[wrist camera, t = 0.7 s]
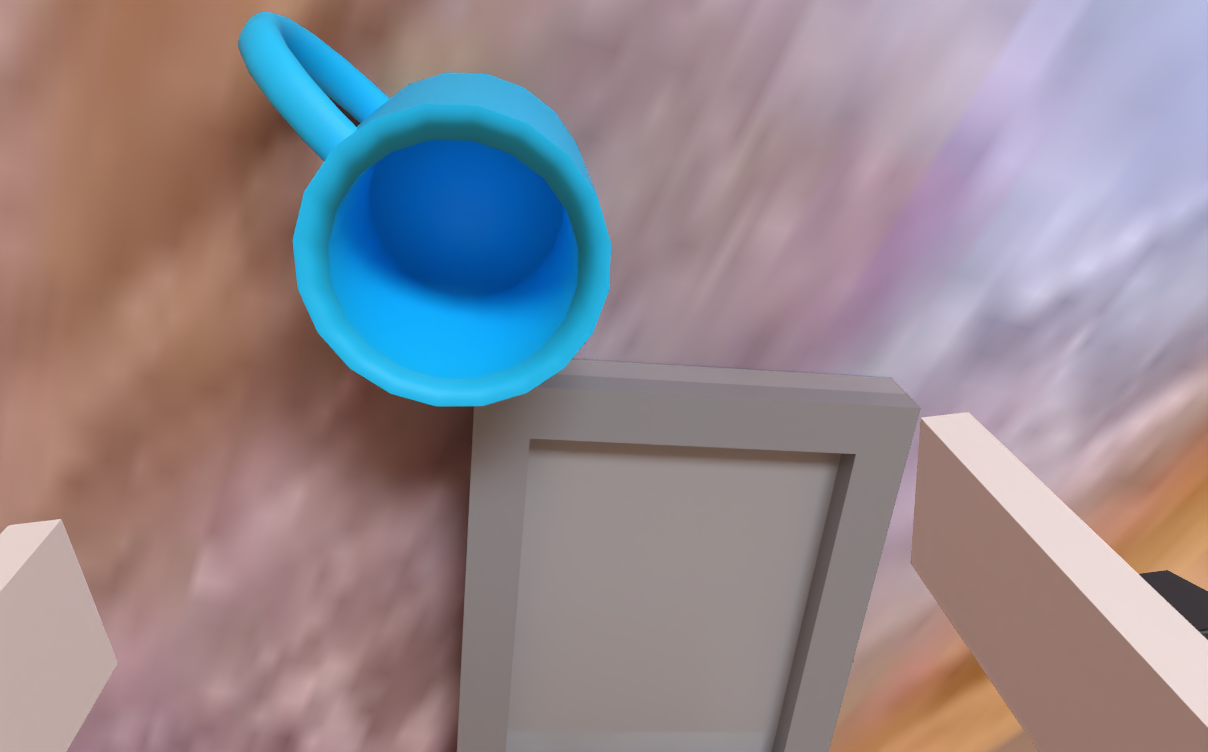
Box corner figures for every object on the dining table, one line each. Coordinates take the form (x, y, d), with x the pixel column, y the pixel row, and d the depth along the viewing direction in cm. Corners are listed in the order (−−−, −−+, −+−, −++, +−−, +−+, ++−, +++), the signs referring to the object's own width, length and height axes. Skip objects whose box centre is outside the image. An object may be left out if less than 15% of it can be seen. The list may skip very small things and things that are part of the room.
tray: (457, 759, 41) (454, 809, 38) (477, 353, 33) (475, 383, 30) (796, 760, 43) (813, 807, 40) (891, 378, 35) (920, 408, 32)
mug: (636, 199, 31) (675, 267, 24) (472, 352, 33) (461, 461, 26) (372, -86, 27) (318, -111, 20) (200, 108, 29) (91, 152, 21)
